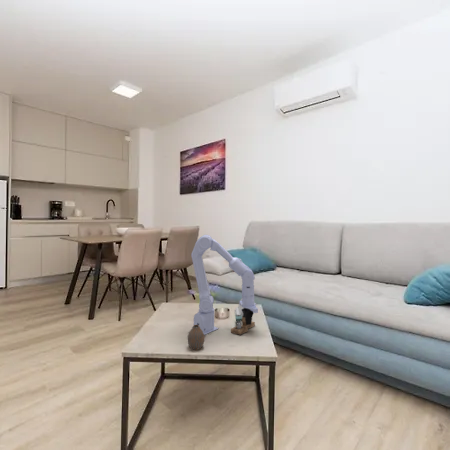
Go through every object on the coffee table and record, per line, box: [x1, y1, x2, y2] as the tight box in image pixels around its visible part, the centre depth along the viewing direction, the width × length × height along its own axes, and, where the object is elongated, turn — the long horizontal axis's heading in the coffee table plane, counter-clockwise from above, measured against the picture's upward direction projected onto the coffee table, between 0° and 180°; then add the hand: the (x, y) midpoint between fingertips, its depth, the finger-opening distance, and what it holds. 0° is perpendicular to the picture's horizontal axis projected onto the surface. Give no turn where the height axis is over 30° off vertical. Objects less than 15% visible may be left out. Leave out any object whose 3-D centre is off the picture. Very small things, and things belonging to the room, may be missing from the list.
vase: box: [187, 324, 206, 350], centre depth 115 cm, size 7×7×9 cm
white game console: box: [234, 298, 245, 318], centre depth 153 cm, size 17×5×10 cm, turn 1°
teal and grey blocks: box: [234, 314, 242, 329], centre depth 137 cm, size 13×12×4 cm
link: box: [230, 317, 256, 335], centre depth 134 cm, size 14×5×5 cm, turn 140°
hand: (248, 324), depth 133 cm, fingers closed, pressing on link
